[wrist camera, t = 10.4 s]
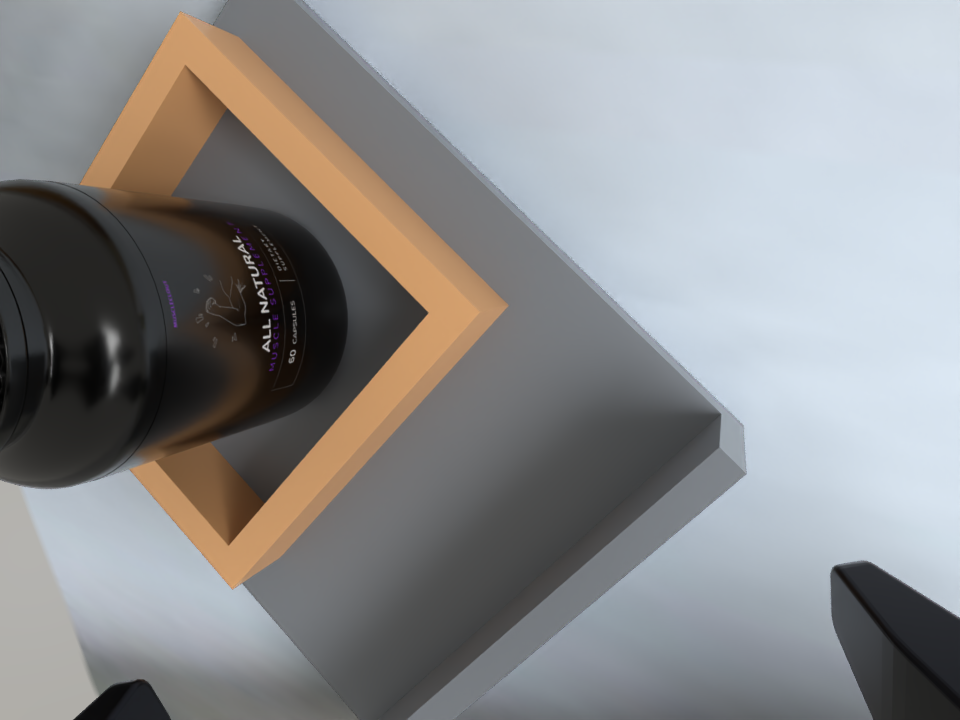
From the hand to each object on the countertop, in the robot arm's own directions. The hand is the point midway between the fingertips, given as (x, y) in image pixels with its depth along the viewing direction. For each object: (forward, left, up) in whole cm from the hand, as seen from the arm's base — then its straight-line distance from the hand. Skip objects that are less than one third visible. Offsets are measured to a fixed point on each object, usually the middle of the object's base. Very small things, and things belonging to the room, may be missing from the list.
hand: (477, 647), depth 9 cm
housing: (+8, +6, -13) cm, 16 cm away
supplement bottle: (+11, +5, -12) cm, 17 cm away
